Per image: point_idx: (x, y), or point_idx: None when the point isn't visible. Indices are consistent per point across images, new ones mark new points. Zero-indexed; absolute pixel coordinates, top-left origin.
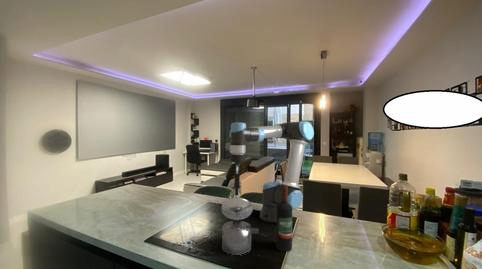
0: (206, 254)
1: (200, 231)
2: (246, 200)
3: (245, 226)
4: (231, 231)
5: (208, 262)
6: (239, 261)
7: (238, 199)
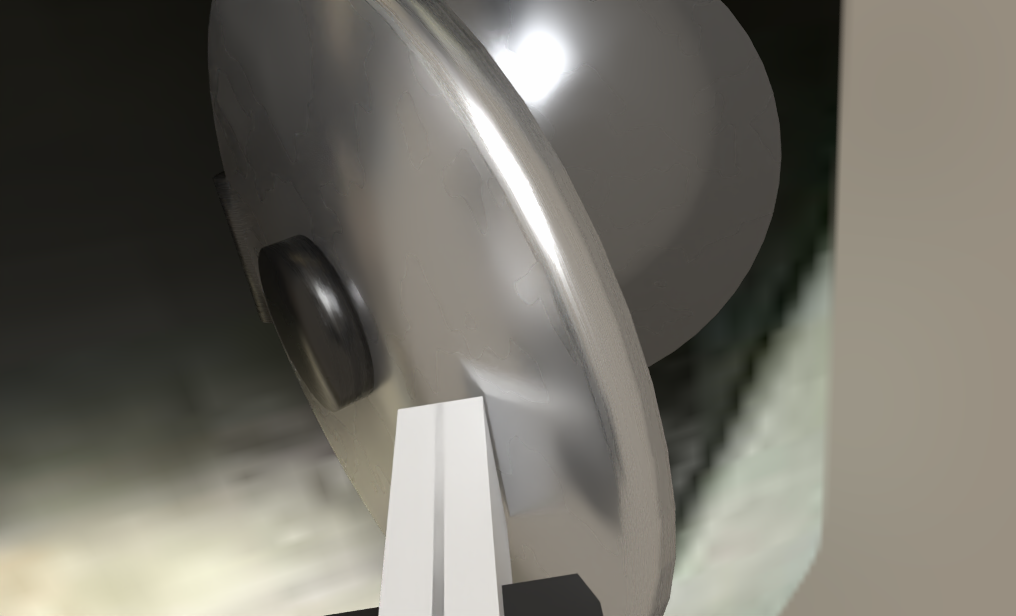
0: (679, 371)
1: (259, 548)
2: (549, 194)
3: (515, 47)
4: (717, 242)
5: (802, 320)
6: (791, 31)
7: (654, 462)
